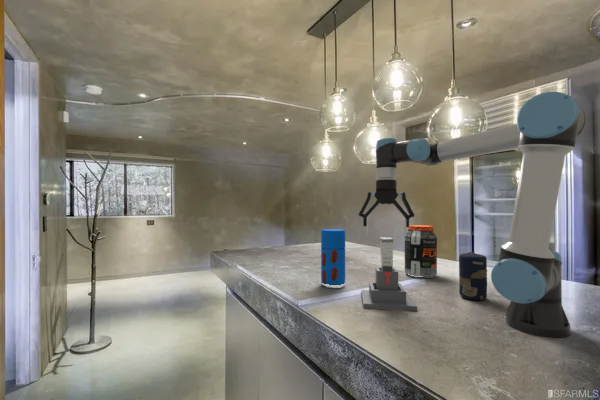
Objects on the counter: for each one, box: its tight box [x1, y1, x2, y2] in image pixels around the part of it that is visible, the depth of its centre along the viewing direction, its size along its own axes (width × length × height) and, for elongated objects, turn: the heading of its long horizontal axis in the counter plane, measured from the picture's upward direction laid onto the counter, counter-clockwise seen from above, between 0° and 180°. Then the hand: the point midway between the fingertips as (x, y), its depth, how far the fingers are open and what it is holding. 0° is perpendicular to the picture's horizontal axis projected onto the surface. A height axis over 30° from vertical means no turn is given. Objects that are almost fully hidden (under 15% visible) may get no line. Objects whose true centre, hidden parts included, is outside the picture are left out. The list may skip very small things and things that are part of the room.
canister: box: [458, 251, 488, 301], centre depth 120 cm, size 10×10×18 cm
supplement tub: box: [404, 224, 438, 279], centre depth 159 cm, size 16×16×26 cm
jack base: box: [360, 266, 418, 312], centre depth 115 cm, size 18×18×13 cm
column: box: [379, 236, 394, 271], centre depth 115 cm, size 6×4×22 cm
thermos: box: [320, 228, 346, 285], centre depth 138 cm, size 11×11×25 cm
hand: (385, 235), depth 116 cm, fingers open, 13 cm apart
